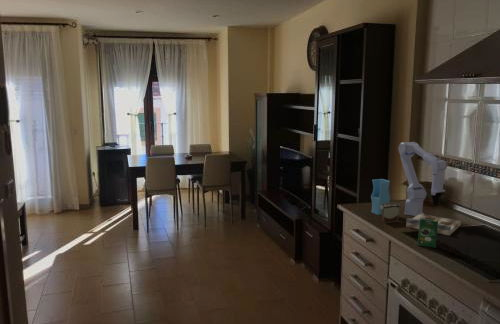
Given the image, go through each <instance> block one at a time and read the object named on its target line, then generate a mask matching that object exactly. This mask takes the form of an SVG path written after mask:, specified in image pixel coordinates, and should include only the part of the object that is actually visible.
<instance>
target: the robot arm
mask: <svg viewBox="0 0 500 324" xmlns="http://www.w3.org/2000/svg"><path fill="white" fill-rule="evenodd" d="M397 150H398V153H399V155H400V160H401V163H402V167H403V170H404V173H405V176H406V179H407V183H408V187H407V188H406V193H407V194H406V195H407V198H406V200H405V203H404V213H403V215H407V216H413V217H415V216H417V215H418V214H425V213H424V212H423V207H424V206H423V205H424V200H425V199H426V197H427V195H428V194H427V191H426V190H425V187H424V186H423V185H422V184H421V183H420V182H419V180H418V177H417V173H416V170H415V167H414V164H413V161H412V157H414V155H415V154H416V155H418V156H419V157H421V158H422V159H423V162H424V163H426V164H427V165H429V166H430V168H431V174H432V175H431V176H432V180H431V188H430V189H431V190H430V196H431V199H432V203H433V206H436V207H438V206H439V204H440V201H441V198H442V196H443V195H444V192H446V189H444V179H445V171H446V170H447V167H448V163H447V161H445V160H444V159H440V158H439V157H436V156H435V155H434V153H432V152H427V151H425V150H424V148H423V147H421V146H420V144H419V143H417V142H416V141H411V142H410V141H409V142H400V144H399V146H398V149H397Z"/></svg>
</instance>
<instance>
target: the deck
mask: <svg viewBox="0 0 500 324" xmlns="http://www.w3.org/2000/svg"><path fill="white" fill-rule="evenodd" d="M427 216H431V217H435V220H438V230H437V234H440V235H444V236H451V235H452V234H453V233H454V232H455V231H456V230H457V229H458V228H460V227H461V225H462V220H459V219H458V220H456V219H453V218H447V217H441V216H435V215H430V214H425V213H424V214H418V215H417V216H413V217H412V218H406V221H405V223H406V224H405V227H406V228H411V229H416V230H419V225H420V218H423V219H425V217H427Z"/></svg>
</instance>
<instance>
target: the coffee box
mask: <svg viewBox="0 0 500 324" xmlns="http://www.w3.org/2000/svg"><path fill="white" fill-rule="evenodd" d="M437 230H438V220H431V219H423V218H420V225H419V229H418V235H417V236H418V237H417V246H418V247H419V246H420V247H425V248H426V247H427V248H434V249H436V248H437V238H438V237H437V236H438V233H437Z"/></svg>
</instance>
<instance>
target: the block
mask: <svg viewBox="0 0 500 324" xmlns="http://www.w3.org/2000/svg"><path fill="white" fill-rule="evenodd" d="M431 216H432V215H430V216H427V217H425V219H431V220H435V217H431Z"/></svg>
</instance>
